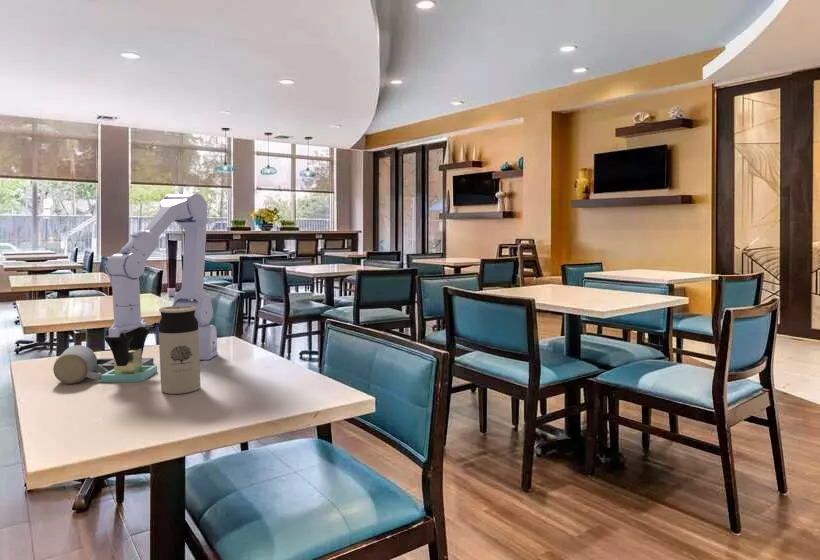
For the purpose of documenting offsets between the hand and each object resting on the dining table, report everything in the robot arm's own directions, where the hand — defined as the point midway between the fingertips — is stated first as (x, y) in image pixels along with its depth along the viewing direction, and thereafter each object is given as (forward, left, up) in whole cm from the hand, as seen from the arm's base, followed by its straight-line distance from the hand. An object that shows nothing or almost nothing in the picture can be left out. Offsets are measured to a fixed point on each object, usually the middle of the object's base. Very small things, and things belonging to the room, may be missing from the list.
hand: (129, 362), depth 137 cm
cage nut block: (0, 0, -3) cm, 3 cm away
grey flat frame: (+9, -10, -4) cm, 14 cm away
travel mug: (-16, +12, -4) cm, 20 cm away
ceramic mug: (+10, +2, -4) cm, 11 cm away
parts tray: (0, 0, -4) cm, 4 cm away
